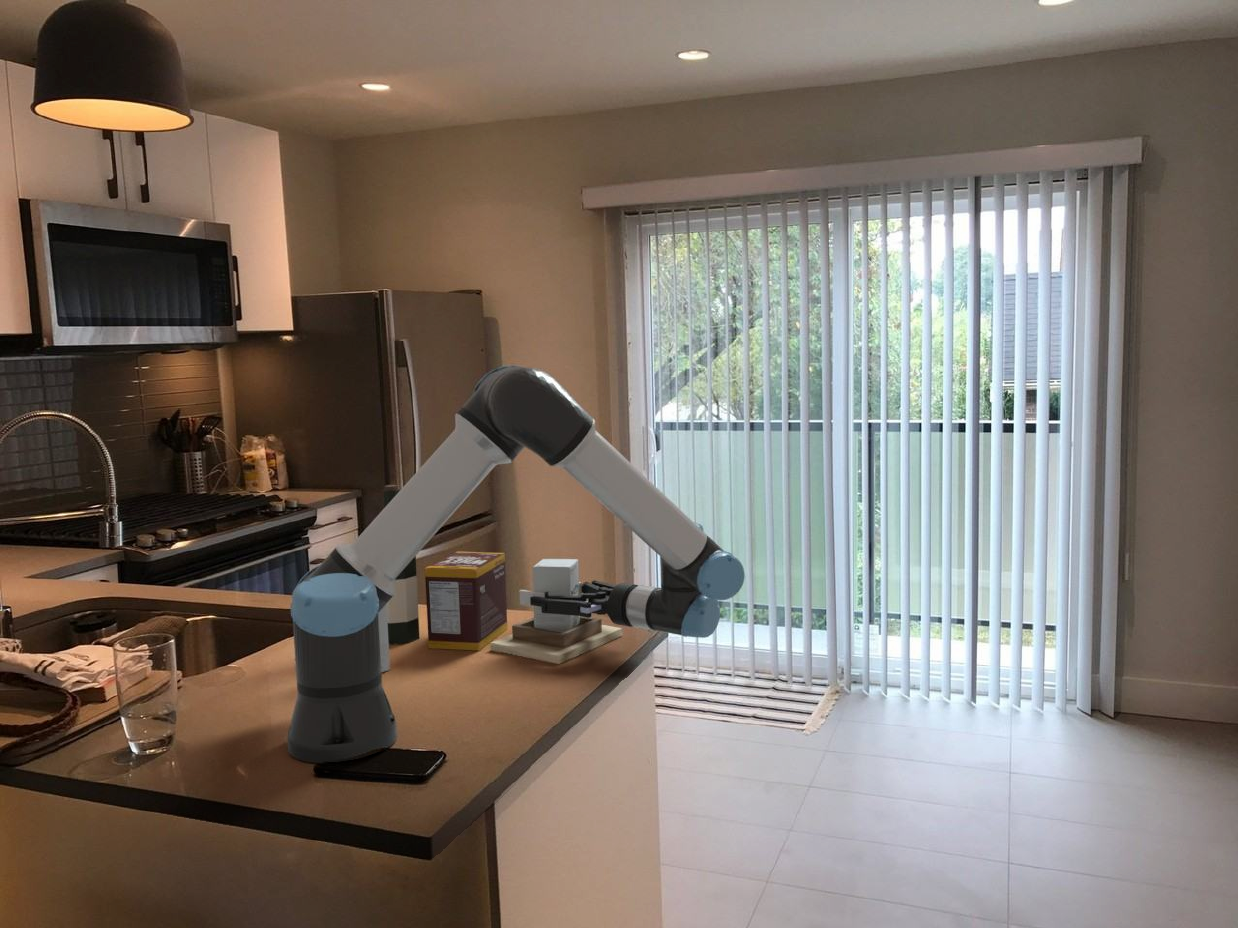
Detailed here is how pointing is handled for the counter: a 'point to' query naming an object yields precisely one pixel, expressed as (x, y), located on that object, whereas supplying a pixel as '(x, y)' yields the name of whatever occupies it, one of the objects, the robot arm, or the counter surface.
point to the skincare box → (384, 639)
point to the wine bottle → (402, 596)
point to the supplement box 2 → (556, 591)
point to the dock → (555, 640)
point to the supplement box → (466, 600)
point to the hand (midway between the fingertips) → (537, 591)
